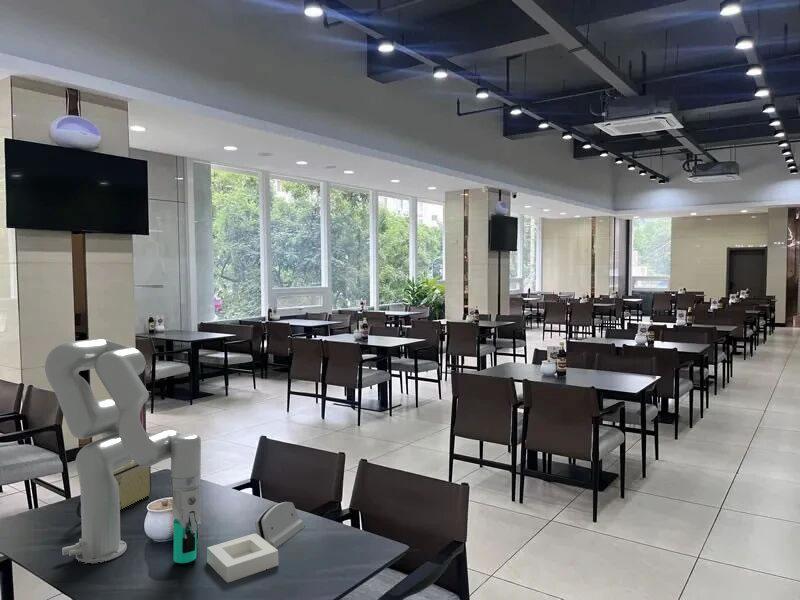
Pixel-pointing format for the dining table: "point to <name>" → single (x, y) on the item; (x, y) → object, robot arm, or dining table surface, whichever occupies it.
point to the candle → (178, 554)
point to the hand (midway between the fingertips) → (185, 546)
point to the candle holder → (242, 557)
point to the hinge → (278, 523)
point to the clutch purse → (130, 484)
